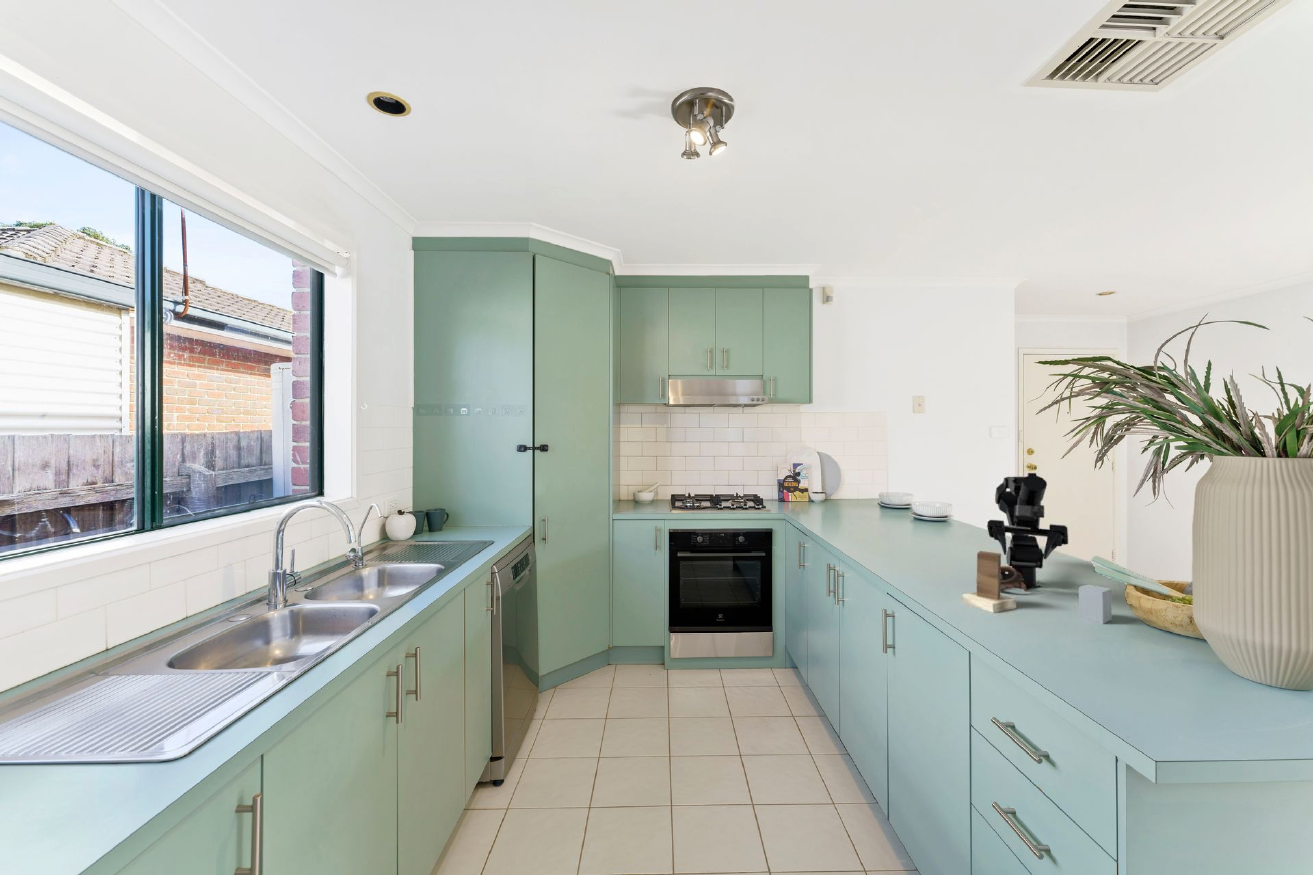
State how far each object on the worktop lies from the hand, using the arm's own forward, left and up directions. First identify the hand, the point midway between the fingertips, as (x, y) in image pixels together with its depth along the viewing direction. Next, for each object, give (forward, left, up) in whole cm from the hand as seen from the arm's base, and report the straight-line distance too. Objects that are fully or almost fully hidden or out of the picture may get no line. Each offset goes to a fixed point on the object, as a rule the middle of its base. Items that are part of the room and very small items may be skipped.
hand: (1024, 556), depth 148 cm
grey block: (-5, +14, -14) cm, 21 cm away
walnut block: (+9, -4, -11) cm, 15 cm away
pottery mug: (-9, -12, -14) cm, 20 cm away
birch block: (+9, -4, -14) cm, 17 cm away
